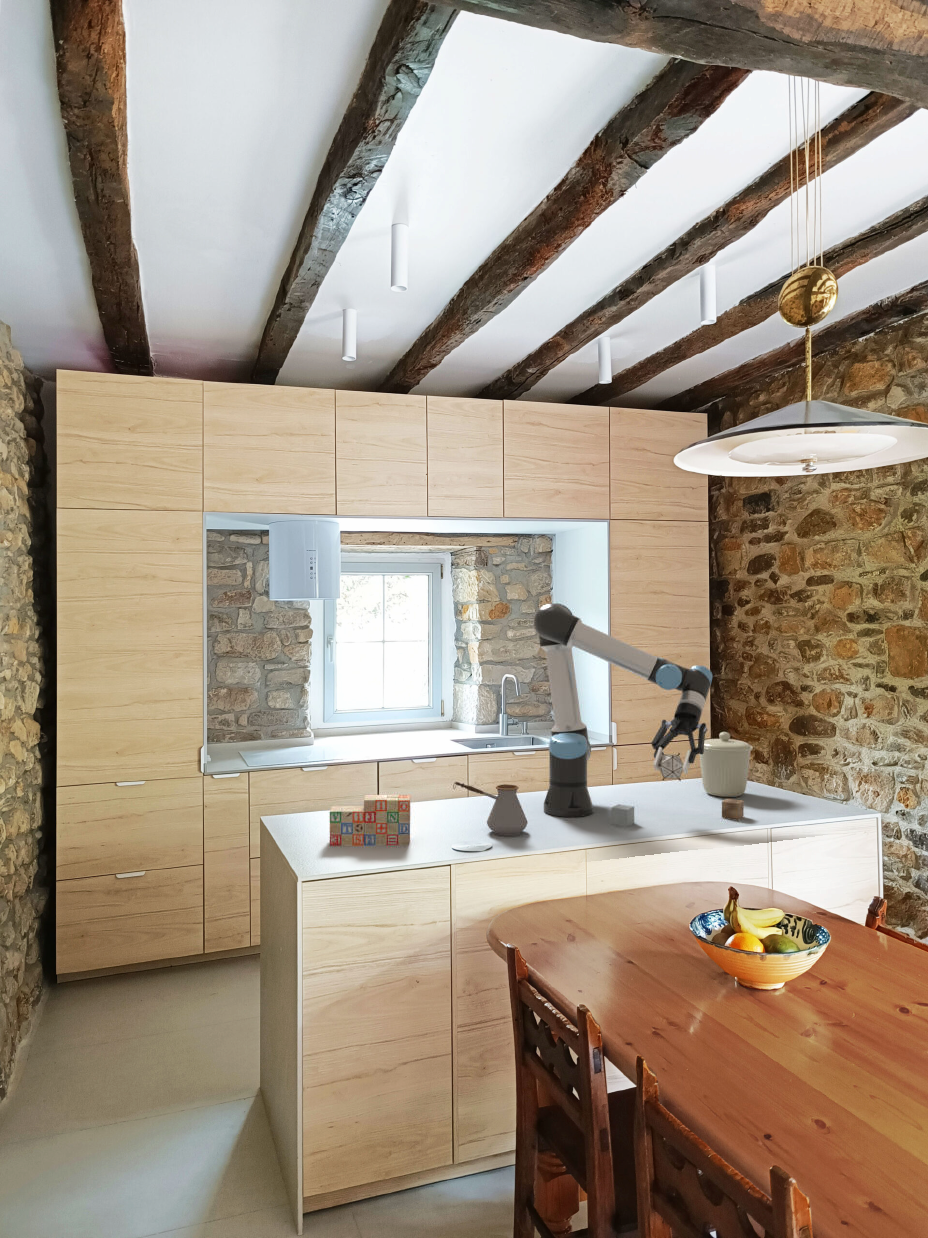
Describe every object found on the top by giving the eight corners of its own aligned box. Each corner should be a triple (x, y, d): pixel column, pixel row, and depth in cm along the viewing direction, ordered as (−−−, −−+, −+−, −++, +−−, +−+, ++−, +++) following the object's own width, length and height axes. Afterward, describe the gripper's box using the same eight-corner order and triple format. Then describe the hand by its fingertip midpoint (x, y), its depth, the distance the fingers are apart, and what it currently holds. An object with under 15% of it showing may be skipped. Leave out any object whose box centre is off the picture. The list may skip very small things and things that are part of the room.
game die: (674, 791, 251) (691, 763, 253) (677, 787, 243) (695, 758, 246) (647, 774, 254) (665, 747, 256) (650, 769, 246) (668, 741, 248)
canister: (763, 798, 278) (763, 735, 278) (714, 801, 274) (714, 737, 274) (733, 787, 296) (734, 727, 296) (686, 790, 292) (687, 729, 291)
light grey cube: (611, 824, 245) (611, 807, 245) (618, 821, 249) (618, 804, 249) (627, 827, 242) (627, 810, 242) (634, 823, 246) (634, 806, 246)
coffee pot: (520, 826, 243) (520, 774, 243) (533, 836, 232) (533, 782, 232) (448, 830, 238) (448, 777, 238) (458, 841, 227) (458, 786, 227)
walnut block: (721, 818, 253) (721, 801, 253) (726, 814, 257) (726, 798, 257) (738, 820, 250) (738, 803, 250) (743, 817, 254) (743, 800, 254)
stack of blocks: (329, 846, 223) (328, 800, 222) (331, 840, 229) (331, 794, 229) (410, 845, 223) (410, 799, 223) (410, 839, 230) (410, 794, 229)
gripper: (726, 719, 256) (708, 781, 243) (660, 714, 268) (639, 772, 255) (720, 703, 251) (702, 765, 238) (654, 699, 263) (632, 757, 250)
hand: (669, 769), depth 247 cm, fingers closed on game die, 8 cm apart
